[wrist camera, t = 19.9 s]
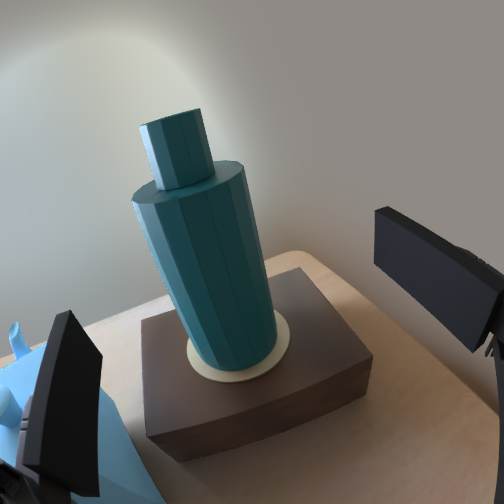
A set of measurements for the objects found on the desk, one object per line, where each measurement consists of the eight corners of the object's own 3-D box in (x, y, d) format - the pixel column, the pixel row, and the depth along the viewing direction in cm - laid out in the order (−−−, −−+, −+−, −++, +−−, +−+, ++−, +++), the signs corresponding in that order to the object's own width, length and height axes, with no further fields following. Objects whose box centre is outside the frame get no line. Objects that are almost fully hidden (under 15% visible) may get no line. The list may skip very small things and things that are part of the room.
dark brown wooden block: (304, 306, 35) (299, 264, 32) (366, 393, 23) (374, 354, 20) (162, 355, 32) (139, 318, 29) (177, 462, 20) (144, 435, 17)
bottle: (262, 301, 28) (216, 103, 19) (290, 352, 22) (242, 99, 13) (192, 325, 27) (120, 132, 18) (205, 382, 21) (100, 141, 12)
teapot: (195, 534, 14) (79, 500, 7) (96, 569, 9) (-37, 529, 2) (108, 374, 30) (45, 285, 23) (43, 409, 25) (-28, 331, 18)
